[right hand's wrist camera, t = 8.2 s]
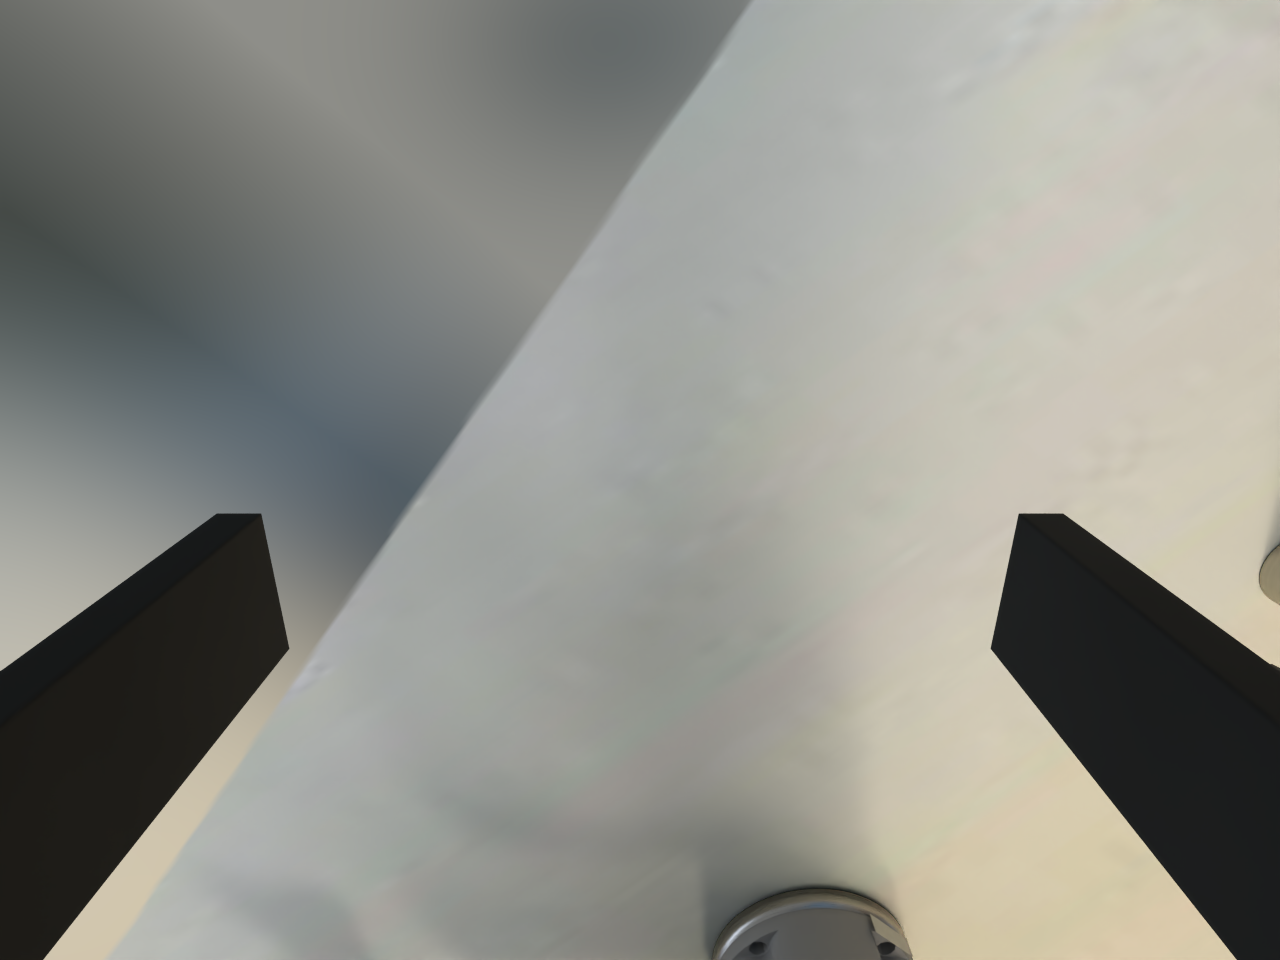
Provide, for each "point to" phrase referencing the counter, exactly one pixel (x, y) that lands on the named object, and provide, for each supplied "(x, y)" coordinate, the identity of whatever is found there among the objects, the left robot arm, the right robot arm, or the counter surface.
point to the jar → (1271, 576)
